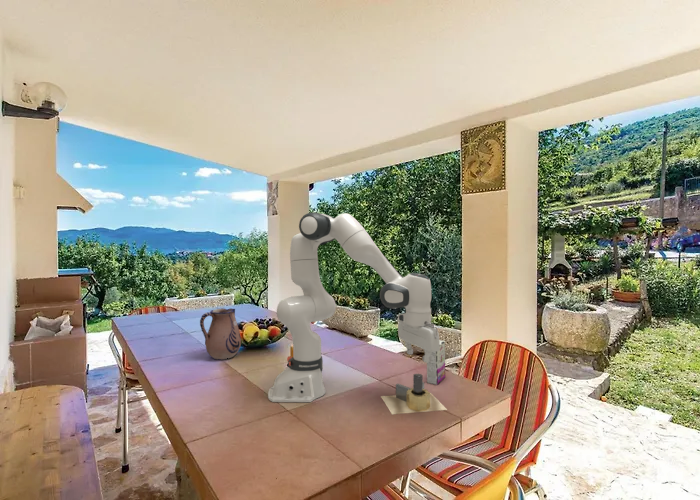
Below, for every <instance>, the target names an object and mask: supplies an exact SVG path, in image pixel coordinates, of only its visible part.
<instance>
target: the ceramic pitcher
mask: <svg viewBox="0 0 700 500" xmlns="http://www.w3.org/2000/svg"><path fill="white" fill-rule="evenodd" d="M207 317H211V318H212V319H211V322H210V325H209V329H208V332H207V331H206V328H205V323H204V321H205V320H206V318H207ZM199 326H200V328H201V329H200V330H201V332H202V334H203V336H204V339H205V340H204V345H205V348H206V352H207V353H208V355H209V356H210V357H211V358H213V359H215V360H218V359H221V360H228V359H232V358H233V357H234V356H235V355H236V354H238V352H239V351H240V348H241V347H242V346H241V344H242V338H241V333H240V328H239V326H238V321H237V319H236V308H229V309H227V308H224V307H222V308H215V309H212V310H210V311H209V312H204V313H203V314H202V315H201V317H200V320H199ZM227 358H228V359H227Z"/></svg>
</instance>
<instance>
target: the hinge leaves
mask: <svg viewBox="0 0 700 500" xmlns="http://www.w3.org/2000/svg"><path fill="white" fill-rule="evenodd" d="M430 393H431V392H430V391H428V389H426V388H425V382H424V381H423V395H415V394H413V387H408V386H406V385H404V384H400V383H396V384H395V395H396V398H398V399H401V400H403V401H405V402H407V406H408V408H409V409H412V410H415V411H426V410H428V409H429V408H430Z"/></svg>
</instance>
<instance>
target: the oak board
mask: <svg viewBox="0 0 700 500" xmlns="http://www.w3.org/2000/svg"><path fill="white" fill-rule="evenodd" d="M429 393H430V408H429V409H428V410H426V411H415V410H412V409H409V408H408V406H407V402H405V401H403V400H401V399H398V398H396V394H395V395H381V396H380V398H381V399H382V400H383V403H384V404H385V405H386V407H387V409H388V410H389V412H390V414H391V415H401V414H412V413H414V414H416V413H423V412H424V413H425V412H426V413H427V412H439V411H448V408H446V407H445V405H444V404H443V403H441V402H440V400H439V399H438V398H436V396H434V394H433V393H431V392H429Z"/></svg>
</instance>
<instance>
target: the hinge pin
mask: <svg viewBox="0 0 700 500" xmlns="http://www.w3.org/2000/svg"><path fill="white" fill-rule="evenodd" d="M412 377H413V378H412V381H413V382H412V383H413V384H412V385H413V387H412V388H413V394H415V395H423V382H424V381H423V374H422V373H414V374H413V376H412Z"/></svg>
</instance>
